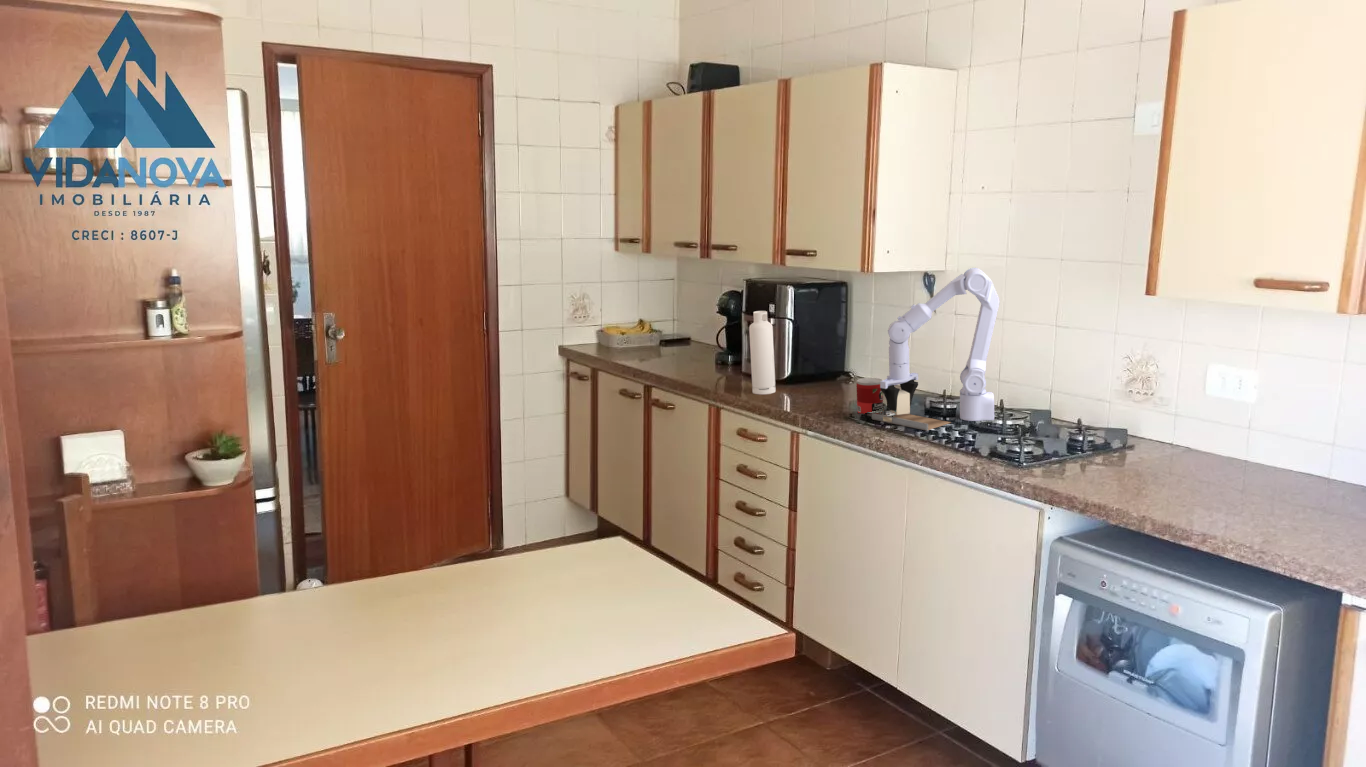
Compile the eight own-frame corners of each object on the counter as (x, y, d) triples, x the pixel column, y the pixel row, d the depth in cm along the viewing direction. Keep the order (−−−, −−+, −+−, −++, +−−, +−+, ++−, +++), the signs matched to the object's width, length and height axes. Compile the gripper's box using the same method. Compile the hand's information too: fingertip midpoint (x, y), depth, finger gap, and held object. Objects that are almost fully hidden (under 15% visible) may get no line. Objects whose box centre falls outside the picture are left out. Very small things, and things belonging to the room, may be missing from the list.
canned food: (876, 419, 282) (875, 384, 279) (852, 417, 287) (851, 381, 284) (887, 413, 288) (887, 378, 285) (864, 411, 292) (863, 376, 290)
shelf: (951, 427, 268) (951, 416, 268) (926, 435, 262) (926, 424, 261) (896, 416, 284) (896, 405, 283) (871, 424, 278) (871, 413, 277)
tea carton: (909, 413, 273) (909, 393, 272) (896, 414, 273) (895, 394, 271) (902, 409, 278) (902, 389, 277) (889, 411, 277) (889, 391, 276)
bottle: (764, 395, 322) (760, 314, 316) (747, 392, 328) (743, 312, 322) (780, 390, 327) (777, 311, 321) (763, 388, 333) (759, 309, 327)
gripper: (904, 356, 280) (905, 401, 282) (871, 365, 271) (872, 410, 274) (923, 359, 274) (924, 404, 277) (890, 368, 266) (891, 414, 268)
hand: (899, 408), depth 275 cm, fingers closed on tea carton, 6 cm apart
